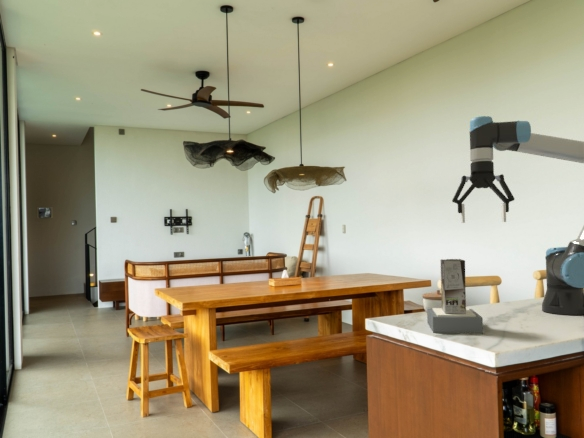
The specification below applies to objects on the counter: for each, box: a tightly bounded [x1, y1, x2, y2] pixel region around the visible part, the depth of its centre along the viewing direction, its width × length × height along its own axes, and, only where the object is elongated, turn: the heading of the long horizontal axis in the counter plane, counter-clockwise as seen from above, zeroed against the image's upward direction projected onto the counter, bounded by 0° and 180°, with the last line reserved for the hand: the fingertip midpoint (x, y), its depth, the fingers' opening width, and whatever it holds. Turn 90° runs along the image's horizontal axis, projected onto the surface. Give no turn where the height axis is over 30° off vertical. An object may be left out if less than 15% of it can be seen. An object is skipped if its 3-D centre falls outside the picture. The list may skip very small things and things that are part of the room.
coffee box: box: [439, 258, 467, 314], centre depth 153 cm, size 9×6×16 cm
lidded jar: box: [422, 289, 442, 314], centre depth 172 cm, size 11×11×9 cm
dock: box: [426, 307, 484, 335], centre depth 152 cm, size 14×16×5 cm
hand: (483, 222), depth 172 cm, fingers open, 13 cm apart
